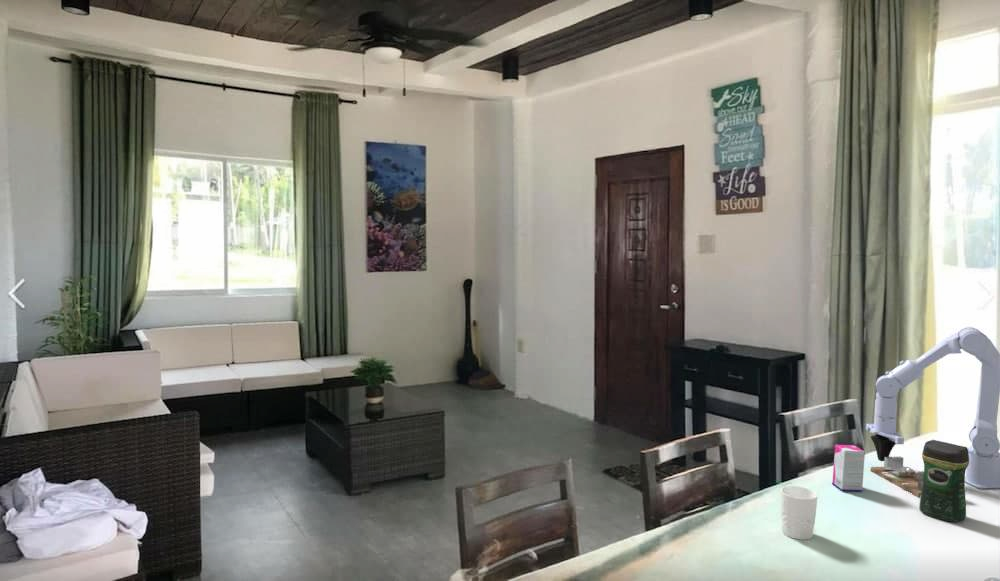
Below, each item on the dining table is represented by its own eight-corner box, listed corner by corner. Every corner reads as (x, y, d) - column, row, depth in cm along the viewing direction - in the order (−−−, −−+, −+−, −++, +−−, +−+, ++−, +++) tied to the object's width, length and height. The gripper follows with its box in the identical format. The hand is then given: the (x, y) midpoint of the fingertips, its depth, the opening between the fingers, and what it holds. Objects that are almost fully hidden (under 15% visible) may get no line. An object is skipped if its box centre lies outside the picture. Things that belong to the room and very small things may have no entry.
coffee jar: (970, 517, 168) (975, 445, 167) (957, 525, 164) (962, 451, 162) (927, 505, 176) (931, 435, 174) (913, 512, 171) (918, 440, 170)
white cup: (799, 544, 154) (801, 501, 153) (771, 530, 161) (773, 489, 160) (823, 536, 157) (825, 495, 156) (794, 523, 164) (796, 483, 163)
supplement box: (863, 492, 185) (865, 451, 184) (841, 491, 185) (843, 450, 184) (852, 484, 190) (854, 444, 189) (831, 483, 190) (833, 444, 189)
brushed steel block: (875, 469, 198) (876, 457, 198) (899, 468, 199) (900, 456, 199) (894, 479, 190) (895, 466, 190) (919, 478, 191) (920, 466, 191)
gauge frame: (870, 470, 201) (871, 451, 200) (902, 470, 202) (903, 450, 201) (918, 497, 181) (919, 475, 180) (953, 496, 182) (954, 474, 181)
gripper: (857, 409, 209) (855, 452, 210) (888, 423, 194) (886, 469, 195) (879, 409, 209) (876, 452, 210) (911, 422, 195) (909, 468, 196)
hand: (882, 460), depth 203 cm, fingers closed
